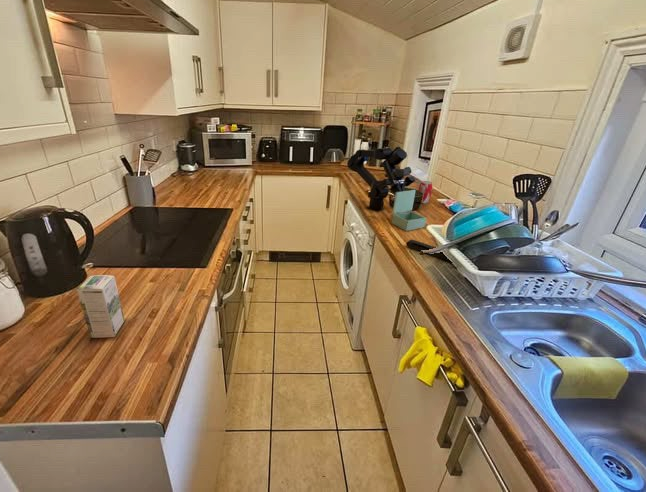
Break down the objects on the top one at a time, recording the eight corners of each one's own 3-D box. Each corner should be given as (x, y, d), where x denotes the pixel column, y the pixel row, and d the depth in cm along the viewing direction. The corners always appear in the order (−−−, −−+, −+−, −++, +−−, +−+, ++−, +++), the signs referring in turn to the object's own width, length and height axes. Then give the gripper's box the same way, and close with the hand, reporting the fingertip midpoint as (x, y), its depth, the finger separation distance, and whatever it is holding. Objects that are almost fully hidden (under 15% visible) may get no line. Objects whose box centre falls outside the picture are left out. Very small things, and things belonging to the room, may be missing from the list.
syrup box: (102, 322, 78) (88, 274, 72) (126, 321, 78) (114, 274, 73) (90, 338, 73) (74, 289, 67) (115, 337, 73) (102, 288, 67)
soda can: (430, 204, 170) (434, 184, 166) (417, 203, 172) (421, 183, 167) (427, 200, 177) (432, 181, 172) (415, 199, 178) (419, 180, 173)
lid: (415, 190, 142) (414, 189, 143) (397, 192, 138) (395, 192, 139) (412, 210, 146) (410, 209, 147) (393, 213, 142) (392, 212, 142)
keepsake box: (424, 227, 141) (426, 217, 139) (405, 231, 136) (407, 221, 134) (409, 219, 149) (411, 210, 147) (391, 223, 144) (392, 213, 142)
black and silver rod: (405, 246, 122) (406, 240, 121) (408, 244, 124) (409, 238, 123) (452, 263, 111) (453, 256, 110) (454, 260, 113) (456, 253, 112)
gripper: (385, 162, 137) (399, 192, 132) (416, 159, 144) (429, 188, 139) (372, 175, 146) (384, 203, 141) (401, 172, 154) (414, 199, 149)
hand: (403, 198), depth 143 cm, fingers closed, pressing on lid
